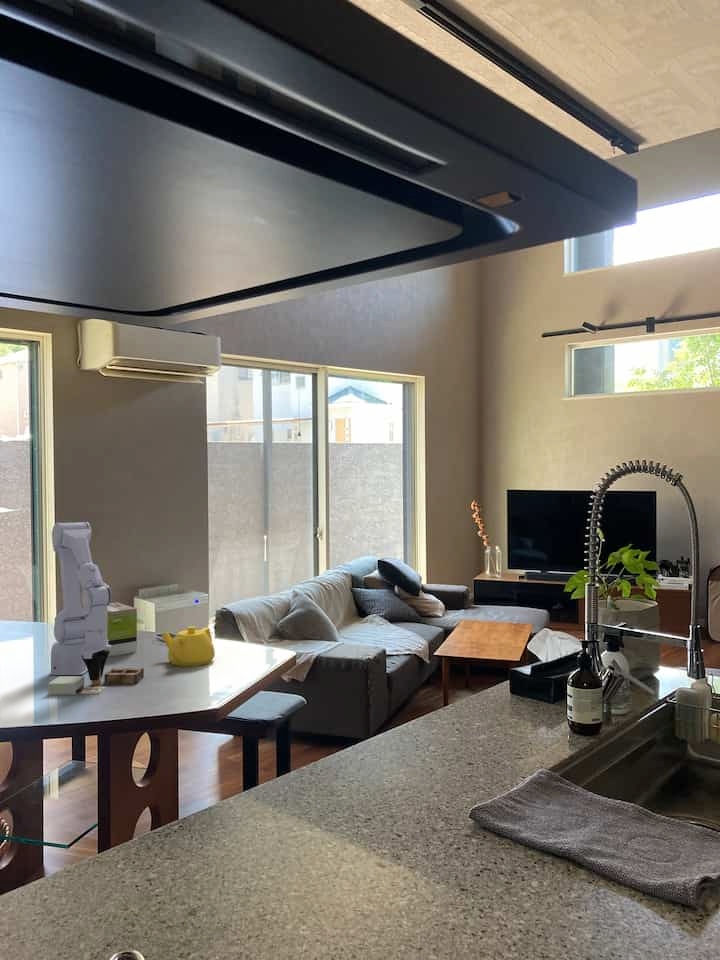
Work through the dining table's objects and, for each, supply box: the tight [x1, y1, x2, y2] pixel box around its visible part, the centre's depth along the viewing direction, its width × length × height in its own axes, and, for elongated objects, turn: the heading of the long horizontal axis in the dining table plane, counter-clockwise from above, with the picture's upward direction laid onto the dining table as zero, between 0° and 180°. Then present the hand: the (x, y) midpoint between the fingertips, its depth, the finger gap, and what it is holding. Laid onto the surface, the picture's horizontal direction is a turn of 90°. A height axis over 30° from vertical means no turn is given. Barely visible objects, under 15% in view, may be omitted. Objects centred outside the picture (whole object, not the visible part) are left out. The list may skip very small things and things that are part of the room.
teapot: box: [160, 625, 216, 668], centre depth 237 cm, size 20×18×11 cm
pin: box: [90, 667, 102, 687], centre depth 210 cm, size 2×2×6 cm
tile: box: [80, 686, 107, 695], centre depth 203 cm, size 5×5×1 cm
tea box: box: [105, 602, 138, 657], centre depth 250 cm, size 15×10×15 cm
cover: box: [48, 675, 86, 696], centre depth 203 cm, size 7×7×3 cm
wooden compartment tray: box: [104, 667, 145, 685], centre depth 214 cm, size 9×7×2 cm
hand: (96, 678), depth 210 cm, fingers closed on pin, 2 cm apart
